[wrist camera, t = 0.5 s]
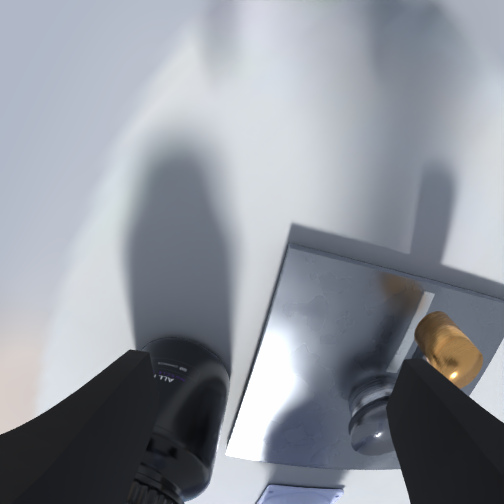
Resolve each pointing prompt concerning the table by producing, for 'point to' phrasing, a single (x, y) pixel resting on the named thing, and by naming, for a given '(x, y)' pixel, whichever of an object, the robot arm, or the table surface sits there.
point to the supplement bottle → (182, 423)
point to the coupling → (436, 354)
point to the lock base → (342, 355)
